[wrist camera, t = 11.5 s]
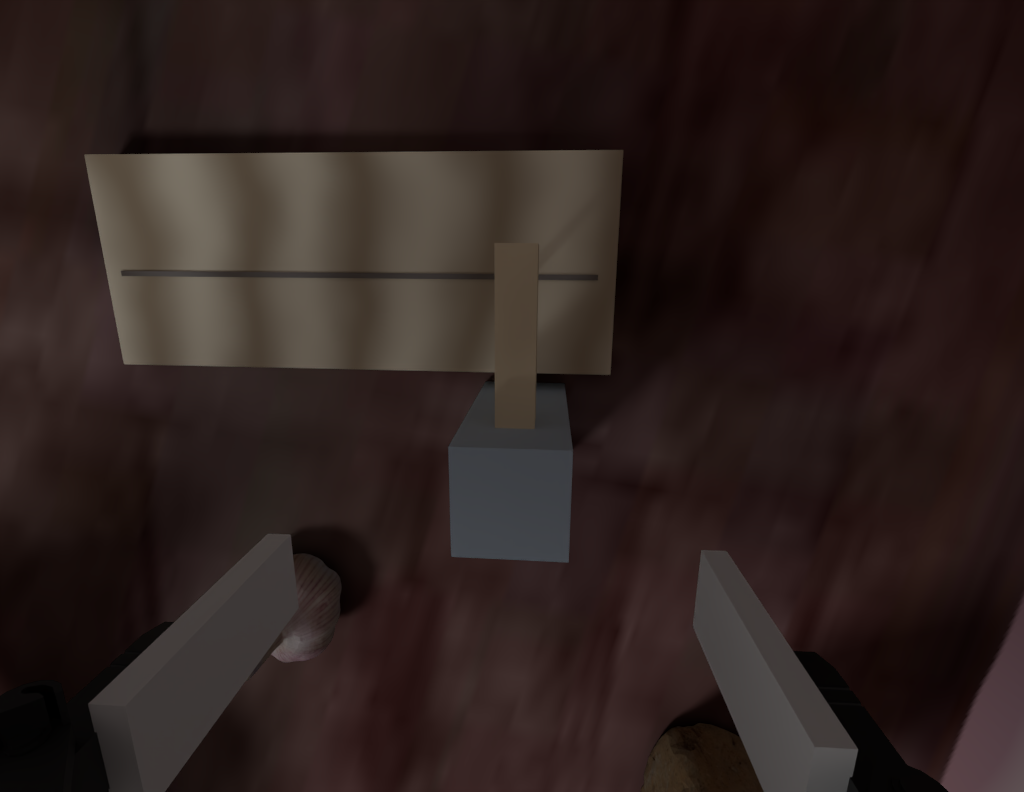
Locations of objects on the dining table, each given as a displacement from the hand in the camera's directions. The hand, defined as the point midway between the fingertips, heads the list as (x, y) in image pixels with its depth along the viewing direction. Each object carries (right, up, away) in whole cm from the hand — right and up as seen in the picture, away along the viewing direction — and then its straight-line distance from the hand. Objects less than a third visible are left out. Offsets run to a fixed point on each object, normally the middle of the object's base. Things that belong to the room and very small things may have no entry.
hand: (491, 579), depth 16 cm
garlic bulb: (-14, -8, +21) cm, 27 cm away
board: (-8, +14, +15) cm, 22 cm away
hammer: (+1, +8, +15) cm, 17 cm away
